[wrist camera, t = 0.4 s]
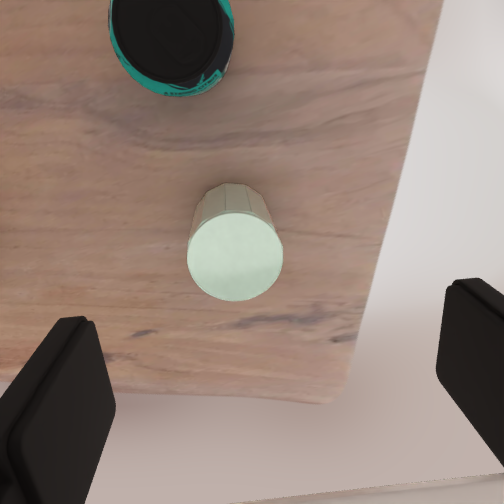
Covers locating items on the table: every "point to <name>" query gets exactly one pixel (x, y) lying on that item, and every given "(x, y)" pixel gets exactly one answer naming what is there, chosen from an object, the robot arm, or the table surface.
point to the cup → (234, 244)
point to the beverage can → (173, 43)
